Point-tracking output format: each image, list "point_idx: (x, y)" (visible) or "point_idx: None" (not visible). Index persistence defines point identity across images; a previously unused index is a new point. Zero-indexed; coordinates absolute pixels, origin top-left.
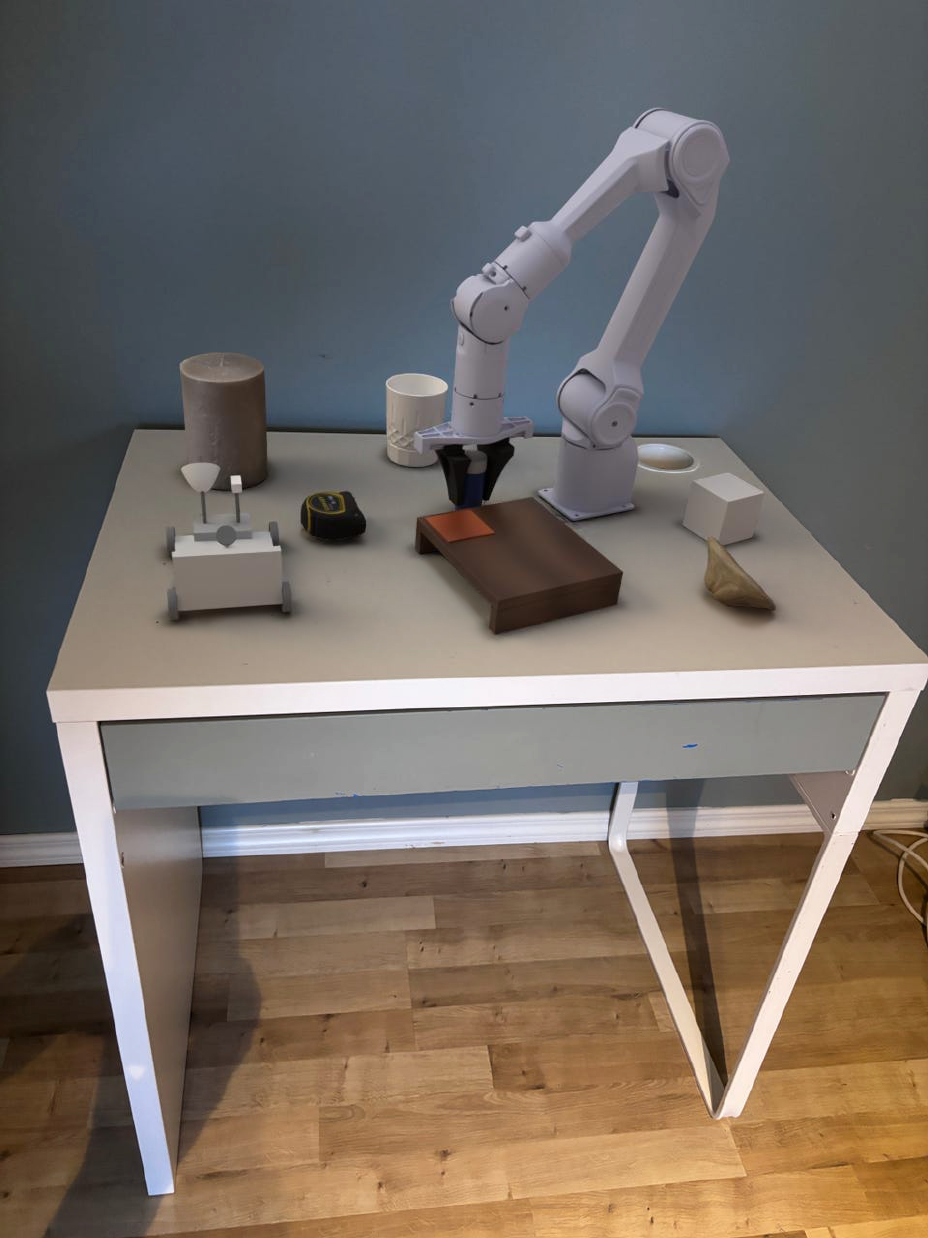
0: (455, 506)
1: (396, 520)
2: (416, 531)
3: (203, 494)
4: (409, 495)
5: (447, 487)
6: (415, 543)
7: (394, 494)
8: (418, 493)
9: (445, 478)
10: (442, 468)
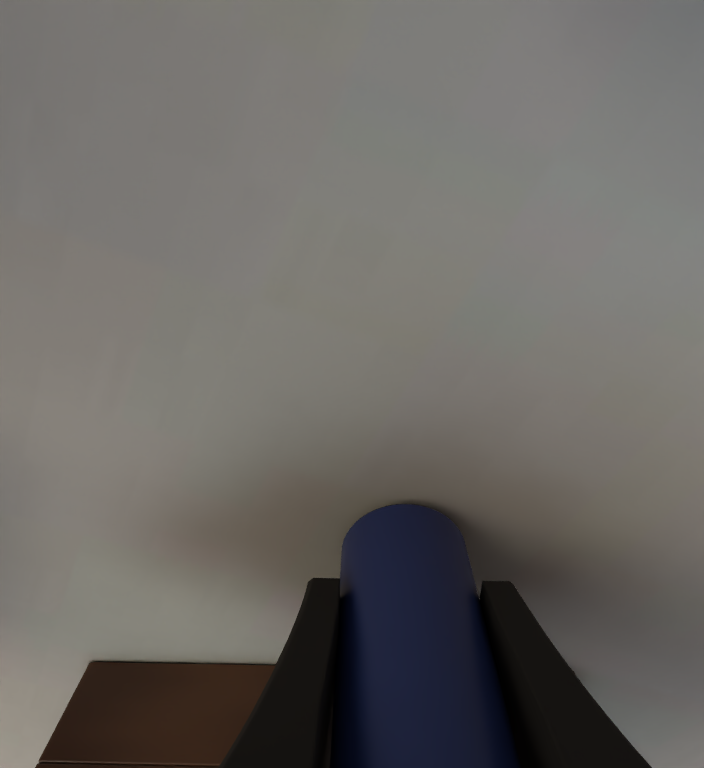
0: (343, 565)
1: (66, 482)
2: (49, 746)
3: None
4: (207, 274)
5: (291, 632)
6: (77, 688)
7: (119, 230)
8: (270, 269)
9: (267, 683)
10: (226, 757)
